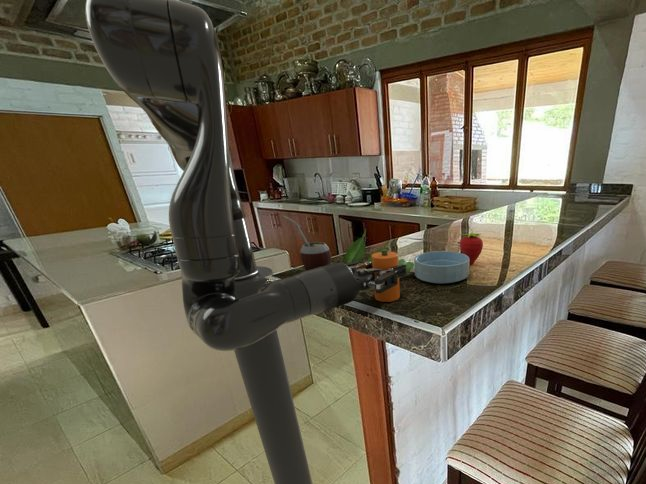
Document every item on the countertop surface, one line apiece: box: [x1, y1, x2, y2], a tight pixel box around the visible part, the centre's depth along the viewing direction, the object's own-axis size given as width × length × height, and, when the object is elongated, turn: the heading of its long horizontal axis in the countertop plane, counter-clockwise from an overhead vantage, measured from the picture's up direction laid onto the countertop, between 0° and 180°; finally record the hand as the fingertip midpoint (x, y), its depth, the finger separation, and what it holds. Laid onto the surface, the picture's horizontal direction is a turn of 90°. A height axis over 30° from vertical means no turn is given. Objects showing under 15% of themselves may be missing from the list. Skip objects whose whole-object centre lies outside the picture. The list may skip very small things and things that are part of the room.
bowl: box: [413, 250, 470, 285], centre depth 80 cm, size 13×13×4 cm
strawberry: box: [459, 226, 484, 266], centre depth 87 cm, size 6×8×10 cm
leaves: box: [344, 229, 414, 279], centre depth 84 cm, size 18×6×13 cm
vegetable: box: [371, 248, 401, 303], centre depth 68 cm, size 5×5×10 cm
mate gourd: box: [283, 215, 332, 271], centre depth 79 cm, size 8×8×15 cm
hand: (394, 266), depth 69 cm, fingers closed on vegetable, 5 cm apart
